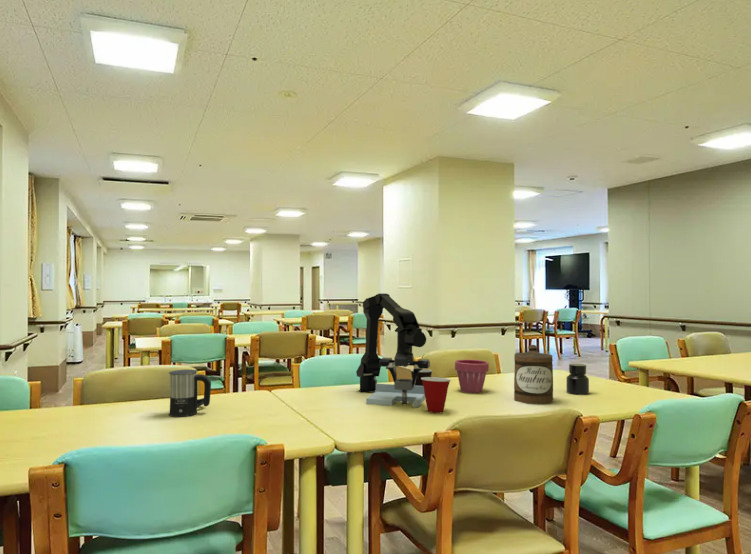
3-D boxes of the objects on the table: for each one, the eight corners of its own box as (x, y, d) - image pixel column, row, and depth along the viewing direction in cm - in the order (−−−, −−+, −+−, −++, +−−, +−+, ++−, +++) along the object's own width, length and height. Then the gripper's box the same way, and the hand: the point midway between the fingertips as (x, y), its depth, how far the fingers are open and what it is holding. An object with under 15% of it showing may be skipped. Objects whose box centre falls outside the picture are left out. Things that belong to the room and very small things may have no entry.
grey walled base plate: (366, 404, 202) (366, 390, 202) (376, 395, 217) (376, 383, 217) (418, 407, 197) (418, 393, 197) (424, 398, 212) (425, 386, 213)
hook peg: (401, 404, 202) (401, 388, 202) (402, 403, 204) (402, 387, 204) (406, 404, 201) (406, 388, 201) (407, 403, 203) (407, 387, 203)
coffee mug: (432, 396, 216) (432, 372, 216) (411, 396, 216) (411, 372, 216) (430, 391, 228) (430, 367, 228) (410, 391, 228) (410, 367, 228)
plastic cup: (454, 409, 194) (454, 376, 194) (445, 415, 184) (445, 381, 184) (426, 406, 199) (426, 374, 199) (416, 412, 189) (416, 378, 189)
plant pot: (493, 390, 231) (493, 360, 231) (481, 395, 219) (481, 364, 219) (462, 387, 239) (462, 358, 239) (449, 392, 227) (449, 361, 227)
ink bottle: (594, 393, 225) (594, 365, 226) (581, 396, 220) (581, 367, 221) (574, 390, 233) (574, 362, 234) (561, 392, 228) (561, 364, 229)
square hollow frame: (394, 389, 200) (394, 381, 200) (397, 386, 206) (397, 378, 206) (411, 390, 199) (411, 382, 199) (414, 387, 205) (414, 379, 205)
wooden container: (515, 403, 205) (516, 346, 205) (512, 395, 220) (512, 342, 220) (556, 405, 203) (556, 347, 203) (549, 397, 217) (549, 343, 218)
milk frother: (169, 418, 178) (170, 374, 178) (164, 408, 192) (165, 367, 192) (213, 414, 184) (214, 371, 184) (205, 405, 198) (206, 365, 198)
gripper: (375, 345, 197) (375, 388, 197) (425, 347, 193) (425, 391, 192) (382, 342, 208) (382, 383, 208) (430, 344, 204) (429, 385, 203)
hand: (404, 385), depth 203 cm, fingers closed on square hollow frame, 6 cm apart
